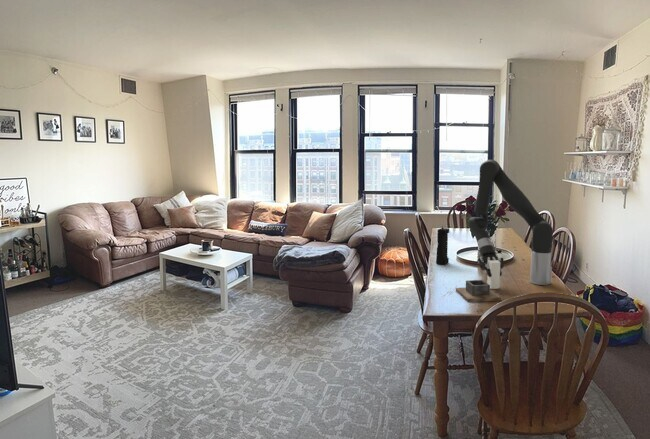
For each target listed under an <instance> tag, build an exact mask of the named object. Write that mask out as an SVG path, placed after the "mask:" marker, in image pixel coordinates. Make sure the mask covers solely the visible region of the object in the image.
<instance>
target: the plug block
mask: <svg viewBox="0 0 650 439" xmlns="http://www.w3.org/2000/svg"><path fill="white" fill-rule="evenodd" d="M488 264H489V269H490V272H491V274H492V276H491V277H489V276H488V275H487V280H486V283H488V284H489V285H490V290H492V289H493V290H495V289H500V284H501V282H500V281H501V276H500V262H499V261H498V260H488Z"/></svg>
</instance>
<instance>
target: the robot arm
mask: <svg viewBox="0 0 650 439" xmlns="http://www.w3.org/2000/svg"><path fill="white" fill-rule="evenodd" d="M478 183H479V184H478V189H477V193H476V194H477V195H476V200H475V204H474V208H473V212H474V213H476V214H477V215H480V216H479V217H478V216H472V217H469V219H468V222H467V226H468V228H469V230H470V231H471V233H472V235H473V236H474V237H475V239H476V243H477V249H478V250H479V254H480V257H481V258H478V259H477V260H476V263H477V264H478V266H479V267H480V269H481V271H485V272H486V275H487V276H489V277H491V276H492V274H491V272H490V269H489V264H488V260H497V261H499V262H500V277H501V276H502V275H503V272H502V269H503V268H504V257H498V256H497V253H496V250H495V247H494V244H493V242H492V240H491V237H490V233H489V232H488V231H487V230H486V229H487V228H488V226H489V218H488V211H489V207H490V199H491V191H492V190H491V189H492V183H494V184H495V186H496V187H497V188H498V190H499V192H500V194H501V196H502V197H503V199H504V201H505V202H506V203H507V204H508V206H509V207H510V208H511V209H512V210H513V211H514V212H516V213H517V214H518V215H519V216H520V217H521V218H522V219H524V221H525V222H526V224H527V225H528V226H529V228H530V229H531V231H532V240H531V241H532V242H531V254H530V274H529V282H530V283H531V284H533V285H539V286H547V285H550V284H551V285H552V276H553V275H552V273H553V266H552V265H551V262H552V261H551V260H552V248H553V240H554V239H553V235H554V228H553V227H552V224H550V223H549V221H547V220H546V219H545V218H544V217H543V216H542V215H541V214H540V213H539V212H538V211H537V210H536V209H535V207H534V206H533V204H532V203H531V201H530V200H529V199H528V197H527V196H526V195H525V194H524V192H523V191H522V190H521V189H520V188H519V187H518V186H517V185H516V184H515V183H514V182H513V181H512V179H511V178H510V177H509V176H508V175H507V174H506V172H505V171H504V169H502V167H501V165H500V163H499V162H498V161H496V160H495V159H487V160H485V161H483V162H482V163H481V164H480V166H479V182H478Z"/></svg>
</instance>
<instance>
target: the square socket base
mask: <svg viewBox="0 0 650 439" xmlns="http://www.w3.org/2000/svg"><path fill="white" fill-rule="evenodd" d="M455 291H456V293H457V294H459V295H460V296H461V298H463V299H464V300H465V301H466V302H467V303H472V302H473V303H475V302H494V301H495V302H497V301H499V302H501V299H502V297H501V296H499V295H498V294H497V293H496V292H494V291H493V290H492V289H491V288H490V285H489V284H488V283H487V281H485V280H483V279H473V280H472V279H469V280H465V287H455Z"/></svg>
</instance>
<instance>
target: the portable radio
mask: <svg viewBox="0 0 650 439" xmlns="http://www.w3.org/2000/svg"><path fill="white" fill-rule="evenodd" d="M443 226H444V225H442V226H441V228H438V229H437V234H436V235H437V240H436V241H437V247H436V255H435V256H436V257H435V258H436V259H435V263H436V265H443V266H446V265H448V264H449V263H450V262H449V259H450V258H449V256H448V249H449V248H448V241H449V240H448V239H449V236H448V235H449V233H450V228H447V227H443Z"/></svg>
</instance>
